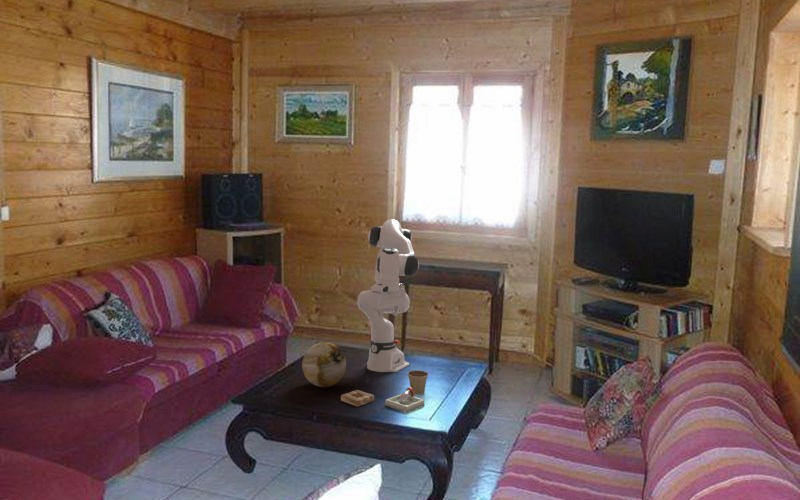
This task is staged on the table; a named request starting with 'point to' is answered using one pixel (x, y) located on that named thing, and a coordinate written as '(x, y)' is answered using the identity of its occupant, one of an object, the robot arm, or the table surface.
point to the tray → (405, 407)
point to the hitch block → (357, 398)
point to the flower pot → (417, 380)
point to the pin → (406, 395)
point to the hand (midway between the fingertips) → (388, 316)
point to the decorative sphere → (324, 364)
